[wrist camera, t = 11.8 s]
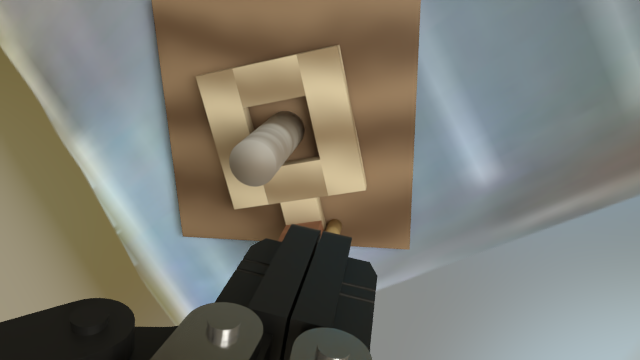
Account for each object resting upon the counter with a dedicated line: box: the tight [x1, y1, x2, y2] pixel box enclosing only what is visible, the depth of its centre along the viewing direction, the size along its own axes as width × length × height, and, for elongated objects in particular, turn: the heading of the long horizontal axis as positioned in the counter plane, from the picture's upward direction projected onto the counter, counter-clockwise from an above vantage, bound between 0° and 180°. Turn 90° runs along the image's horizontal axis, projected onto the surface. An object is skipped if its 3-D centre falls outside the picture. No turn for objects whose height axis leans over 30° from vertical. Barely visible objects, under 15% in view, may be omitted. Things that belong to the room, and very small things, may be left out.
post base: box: [152, 0, 421, 249], centre depth 34 cm, size 20×20×10 cm
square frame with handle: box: [196, 45, 367, 242], centre depth 34 cm, size 16×11×8 cm
